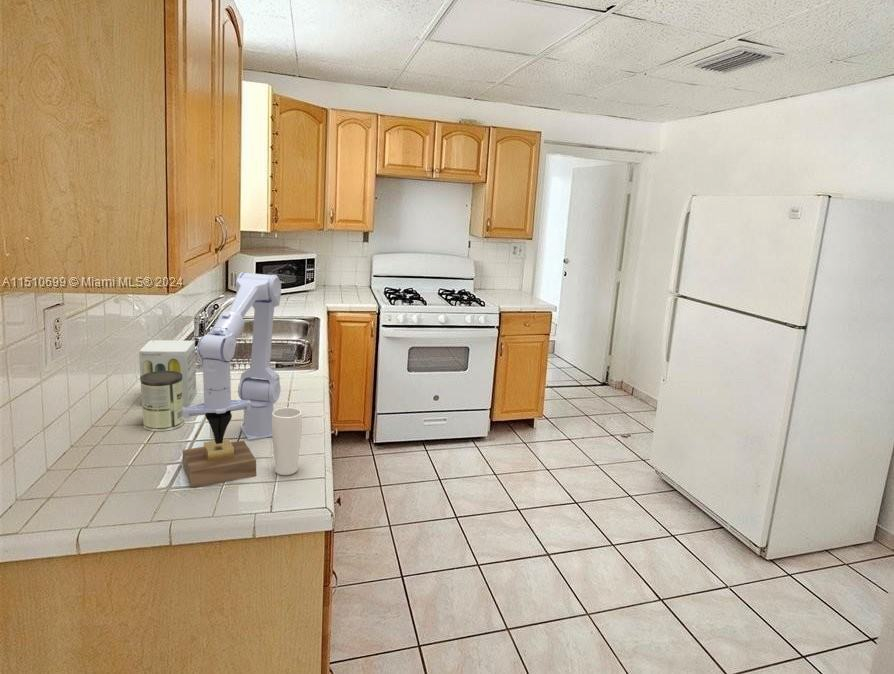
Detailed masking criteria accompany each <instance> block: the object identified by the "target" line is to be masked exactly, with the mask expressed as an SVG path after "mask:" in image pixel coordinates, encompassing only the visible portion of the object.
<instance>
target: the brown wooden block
mask: <svg viewBox="0 0 894 674" xmlns="http://www.w3.org/2000/svg"><path fill="white" fill-rule="evenodd" d="M230 442H231V444H232V445H233V447H234V458H229V459H223V460H217V461H211V462H208V460H207V458H206V456H205V454H204V446H201V447H194V448H187V449H182V450H181V451H182V467H183V469H184V472H185V475H186V477H187V480H188V482H189V487H190V488H191V489H194V488H198V487H200V488H201V487H205V486H209V485H210V486H211V485H215V484H219V483H224V482H231V481H235V480H241V479H247V478H251V477H256V476H257V459H256V458H255V456H254V454H253V453H252V451H251V449H250V448H249V446H248V444H247V443H246V442H245V440H238V441H230Z"/></svg>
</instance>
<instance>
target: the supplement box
mask: <svg viewBox="0 0 894 674" xmlns="http://www.w3.org/2000/svg"><path fill="white" fill-rule="evenodd" d="M138 357H139V358H138V359H139V360H138V361H139V372H140V373H139V375H140V377H141V376H142V375H144V374H147V373H150V372H155V371H176V372H179V373H181V374H182V389H183V407H189V406H191V405H190V404H191V402H192V401H193V399H194V397H195V396H196V395H197V372H196V371H197V370H196V368H197V367H196V341H195V340H176V339H173V340H169V339H166V340H165V339H164V340H163V339H161V340H159V339H155V340H153V339H150V340H149V341H148V342H146V344H145V345H144V346H143V347H141V349H139V351H138ZM140 377H139V378H140ZM140 394H141V395H140V396H141V397H142V392H141V391H140Z"/></svg>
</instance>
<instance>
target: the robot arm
mask: <svg viewBox="0 0 894 674" xmlns="http://www.w3.org/2000/svg"><path fill="white" fill-rule="evenodd" d="M235 290H236V291H235V292H236V295H234V298H233V300H232V302H231V304H230V307H229V308H228V310H226V311H222V312H221V314H220V315H219V316H218V319H217V320H216V322H215V323H214V325H213V327H212V328H211V330H210V331H209V333H208V334H207V333H206V334H205V335H203V336H201V337H200V338H199V340H198V342H197V348H196V355H197V357H198V358H199V366H200V368H202V375H203V376H202V377H203V378H202V380H203V403H198V404H194V405H189V406H183V417H184V419H189V418H190V417H196V416H197V417H198V416H204V417H205V418H206V420H207V422H208V424H209V426H210V428H211V431H212V433H213V438H214V440H213V441H215V443H216V444H220V443H223V439H224V437H225V434H226V433H225V432H226V430H227V428H228V426H229V423H231V420H232V415H233V414H232V412H235V411H243V425H241V426H240V427H239V428H240V430H241V431H242V433H243V434H244V436H245V438H246V439H247V440H248V441H253V440H258V439H265V438H273V437H272V412H273V411H274V404H276V403H277V401H278V400H279V398H280V395H281V384H280V382H281V381H280V379H281V378H280V375H279V374H278V373H277V372H276V371H275V370H274V369H272V368H271V366H270V365H271V358H272V357H271V354H272V342H273V341H272V340H273V328H274V327H273V326H274V313H275V308H276V307H278V306H280V304H281V303H280V302H281V295H282V294H281V293H282V283H281V280H280V278H279V277H278V275H277V274H264V273H263V274H262V273H253V272H252V273H251V272H245V271H242V272H240V273H239V274H238V276H237V278H236V281H235ZM251 307H252V308H253V310H254V314H253V325H252V326H253V327H252V328H253V330H252V341H251V342H252V343H251V344H252V345H251V354H250V355H251V357H250V367H249V368H247V369H246V370H244V371H243V372H242V373H241V375H240V380H239V383H238V386H237V394H238V398H239V399H233V400H232V398H231V397H232V389H231V386H232V385H231V361H232V359H233V358H234V356H235V352H236V346H237V343H238V342H237V339H238V337H239V335H240V333H241V332H242V330H243V328H244V326H245V321H244V317H245V316H246V314H247V313H248V311H249V310H250V309H251Z"/></svg>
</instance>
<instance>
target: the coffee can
mask: <svg viewBox="0 0 894 674" xmlns="http://www.w3.org/2000/svg"><path fill="white" fill-rule="evenodd" d="M139 380H140V390H141V391H140V393H141V392H142V396H141V407H142V420H143V424H142V425H143V428H144V429H145V430H147V431H150V432H166V431H172V430H176V429H178V428H180V427H182V426H183V425H184V424H185V418H184V417H183V407H184V406H183V389H182V374H181V373H179V372H176V371H155V372H150V373H147V374H144V375H142V376H141V377H139Z"/></svg>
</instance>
